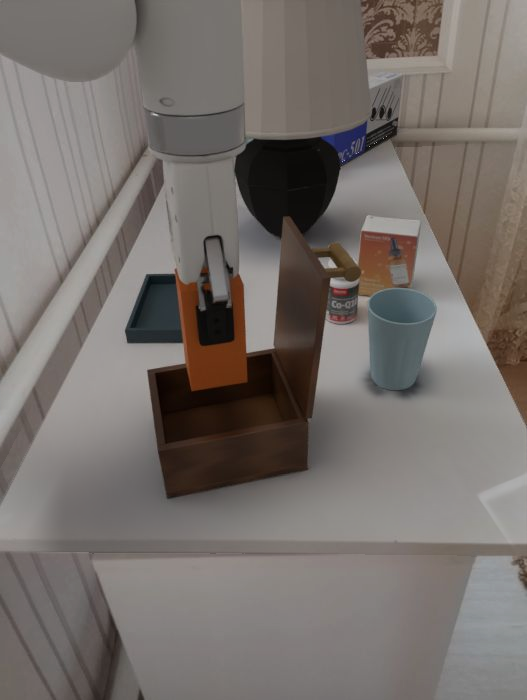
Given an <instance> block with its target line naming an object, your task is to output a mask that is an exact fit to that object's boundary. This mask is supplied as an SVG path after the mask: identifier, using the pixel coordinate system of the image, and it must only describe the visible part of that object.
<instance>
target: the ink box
mask: <svg viewBox="0 0 527 700" xmlns="http://www.w3.org/2000/svg"><path fill="white" fill-rule="evenodd" d="M403 79H404V74H403V73H394V72H389V71H388V72H387V71H378V72H375V73H373V74H370V75H368V82H369V91H370V99H371V105H372V115H371V116H370V118H369V119H368V120H367V121H366V122H365V123H364V124H362V125H360V126H358V127H356V128H353V129H351V130H348V131H344V132H341V133H337V134H333V135H328V136H321V138H322V139H324V140H325V141H327V142H328V143H330V144H331V145H332V146H333V147H334V148H335V149H336V150H337V152H338V155H339V159H340V166H342V165H344V164H346V163H347V162H349V161H352V160H353V159H354V158H357V157H358V156H360V155H362V154H363V153H366V152H367V151H369V150H371V149H373V148H375V147H377V146H378V145H381V144H382V143H384V142H386V141H387V140H389V139H391V138H393V137H395V136H396V135H398V127H399V116H400V109H401V108H400V107H401V98H402V88H403ZM386 136H387V137H386ZM383 138H384V139H383ZM376 142H377V143H376ZM374 143H375V144H374ZM369 146H370V147H369ZM358 152H359V153H358ZM356 153H357V154H356ZM344 160H345V161H344ZM342 161H343V162H342Z"/></svg>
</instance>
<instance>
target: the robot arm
mask: <svg viewBox="0 0 527 700" xmlns="http://www.w3.org/2000/svg"><path fill="white" fill-rule="evenodd" d="M131 48H132V49H133V50H134V51H135V54H136V58H137V66H138V73H139V81H140V82H139V83H140V89H141V97H142V105H143V113H144V114H143V115H144V122H145V130H146V138H147V144H148V153H149V154H150V155H151V156H152V157H154V158H156V159H157V160H161V161H162V173H163V185H164V186H163V187H164V195H165V202H166V203H165V205H166V213H167V223H168V234H169V235H168V236H169V243H170V244H169V245H170V247H171V254H172V256H173V260H174V264H175V268H177V272H178V276H179V279H180V280H181V281H182V282H183V283H184V284H186V285H189V283H193V282H196V286H197V295H198V303H199V306H196V316H197V326H198V337H199V342H200V345H201V346H208V345H215V344H222V343H228V342H232V341H234V339H235V335H234V316H233V303H232V300H231V290H230V279H229V276H231V278H232V279H233V278H235V277H236V276H237V274H238V273H239V272H240V237H239V219H238V217H239V215H238V202H237V189H236V187H237V182H236V177H235V174H234V161H233V157H234V156H236V155H238V154H240V153H241V152H243V151H244V150H245V148H246V134H245V103H244V71H243V44H242V11H241V0H0V55H1V56H3V57H4V58H7V59H8V60H11V61H13V62H14V63H17V64H19V65H21V66H22V67H26V68H27V69H29V70H32V71H34V72H35V73H37V74H40V75H43V76H46V77H48V78H52V79H54V80H60V81H64V82H69V83H87V82H91V81H96V80H99V79H101V78H104V77H105V76H108V75H109V74H110V73H111V72H113V71H114V70H116V69H117V68H118V67H119V66H120V65H121V64H122V62H123V61H124V60H125V59H126V57H127V56H128V54H129V52H130V50H131ZM204 268H207V269H208V273H201V270H202V269H204ZM239 274H240V273H239ZM203 283H210V290H209V291H206V294H205V292H204V284H203Z"/></svg>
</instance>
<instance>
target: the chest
mask: <svg viewBox="0 0 527 700" xmlns="http://www.w3.org/2000/svg"><path fill="white" fill-rule="evenodd" d="M246 356H247V381H248V382H245V383H239V384H233V385H227V386H221V387H215V388H208V389H202V390H196V391H192V390H191V386H190V381H189V377H188V372H187V368H186V362H184V363H180V364H173V365H168V366H161V367H156V368H151V369H150V368H149V369H146V373H147V380H148V381H147V382H148V388H149V396H150V403H151V410H152V417H153V425H154V433H155V439H156V440H155V441H156V447H157V454H158V459H159V464H160V465H159V466H160V470H161V474H162V479H163V485H164V489H165V494H166V498H167V499H173V498H177V497H183V496H187V495H192V494H196V493H203V492H207V491H211V490H215V489H220V488H226V487H231V486H236V485H241V484H245V483H250V482H254V481H260V480H264V479H265V480H266V479H269V478H274V477H278V476H283V475H289V474H293V473H298V472H299V473H300V472H304V471H307V470H309V431H310V430H309V428H310V427H309V426H310V425H309V420H308V419H305V416H304V414H303V412H302V409H301V407H300V405H299V402H298V400H297V398H296V396H295V393H294V391H293V389H292V386H291V384H290V382H289V379H288V377H287V375H286V372H285V370H284V368H283V366H282V363H281V361H280V359H279V356H278V354H277V352H276V349H275V347H274V348H268V349H261V350H256V351H250V352H246Z"/></svg>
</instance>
